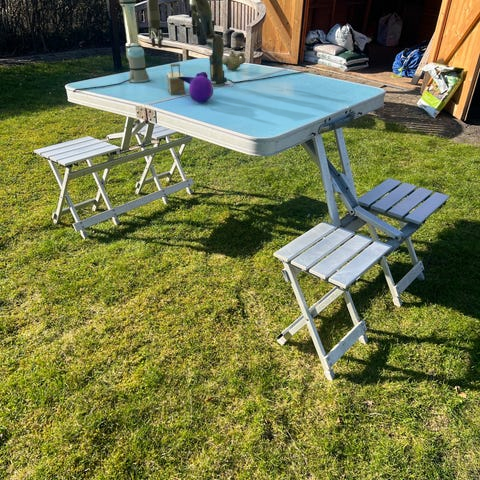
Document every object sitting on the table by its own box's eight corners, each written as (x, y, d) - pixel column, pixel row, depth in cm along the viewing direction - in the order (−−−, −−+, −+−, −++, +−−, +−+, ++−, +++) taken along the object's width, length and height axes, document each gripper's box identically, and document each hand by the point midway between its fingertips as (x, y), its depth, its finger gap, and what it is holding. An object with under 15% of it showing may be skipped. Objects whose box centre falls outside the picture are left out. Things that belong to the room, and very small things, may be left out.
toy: (201, 94, 296) (213, 108, 275) (175, 89, 289) (185, 104, 268) (206, 69, 288) (219, 82, 267) (180, 64, 281) (191, 77, 260)
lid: (183, 77, 293) (182, 63, 289) (169, 78, 291) (168, 64, 287) (180, 73, 307) (179, 59, 303) (166, 74, 305) (165, 60, 301)
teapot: (225, 72, 363) (224, 52, 355) (218, 70, 371) (218, 50, 364) (248, 69, 372) (247, 50, 364) (241, 67, 381) (240, 48, 373)
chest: (184, 94, 299) (183, 77, 293) (171, 95, 297) (169, 78, 292) (181, 89, 312) (180, 73, 307) (168, 90, 311) (166, 74, 305)
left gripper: (203, 5, 329) (204, 36, 339) (195, 3, 349) (197, 33, 360) (193, 5, 327) (195, 37, 338) (186, 4, 347) (188, 34, 358)
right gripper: (165, 19, 273) (167, 47, 281) (154, 17, 283) (157, 45, 291) (153, 19, 269) (157, 49, 277) (143, 18, 279) (146, 46, 287)
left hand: (196, 35), depth 349 cm, fingers open, 13 cm apart
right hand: (157, 47), depth 284 cm, fingers open, 8 cm apart
